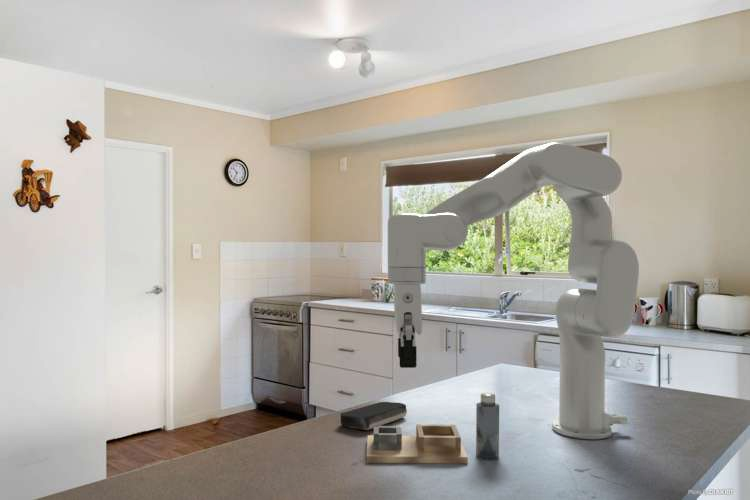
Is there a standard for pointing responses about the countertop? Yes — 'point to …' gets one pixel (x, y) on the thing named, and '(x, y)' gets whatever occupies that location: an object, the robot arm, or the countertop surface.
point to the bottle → (487, 428)
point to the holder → (416, 445)
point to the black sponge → (373, 415)
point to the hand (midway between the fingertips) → (406, 362)
